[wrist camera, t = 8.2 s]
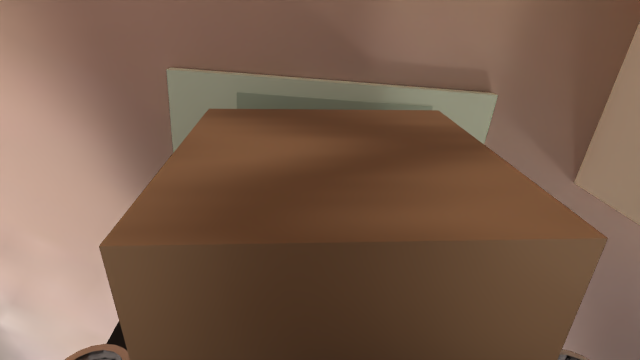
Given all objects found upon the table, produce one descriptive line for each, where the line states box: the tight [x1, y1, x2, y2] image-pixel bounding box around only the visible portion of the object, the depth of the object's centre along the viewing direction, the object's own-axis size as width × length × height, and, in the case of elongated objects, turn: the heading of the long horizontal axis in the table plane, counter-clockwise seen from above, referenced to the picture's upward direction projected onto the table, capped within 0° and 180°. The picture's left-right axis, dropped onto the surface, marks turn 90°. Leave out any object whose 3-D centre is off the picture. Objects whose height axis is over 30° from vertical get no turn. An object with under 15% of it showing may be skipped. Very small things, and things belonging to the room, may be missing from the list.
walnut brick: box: [99, 109, 608, 360], centre depth 9 cm, size 6×9×6 cm, turn 179°
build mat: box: [166, 67, 498, 153], centre depth 14 cm, size 10×10×1 cm
